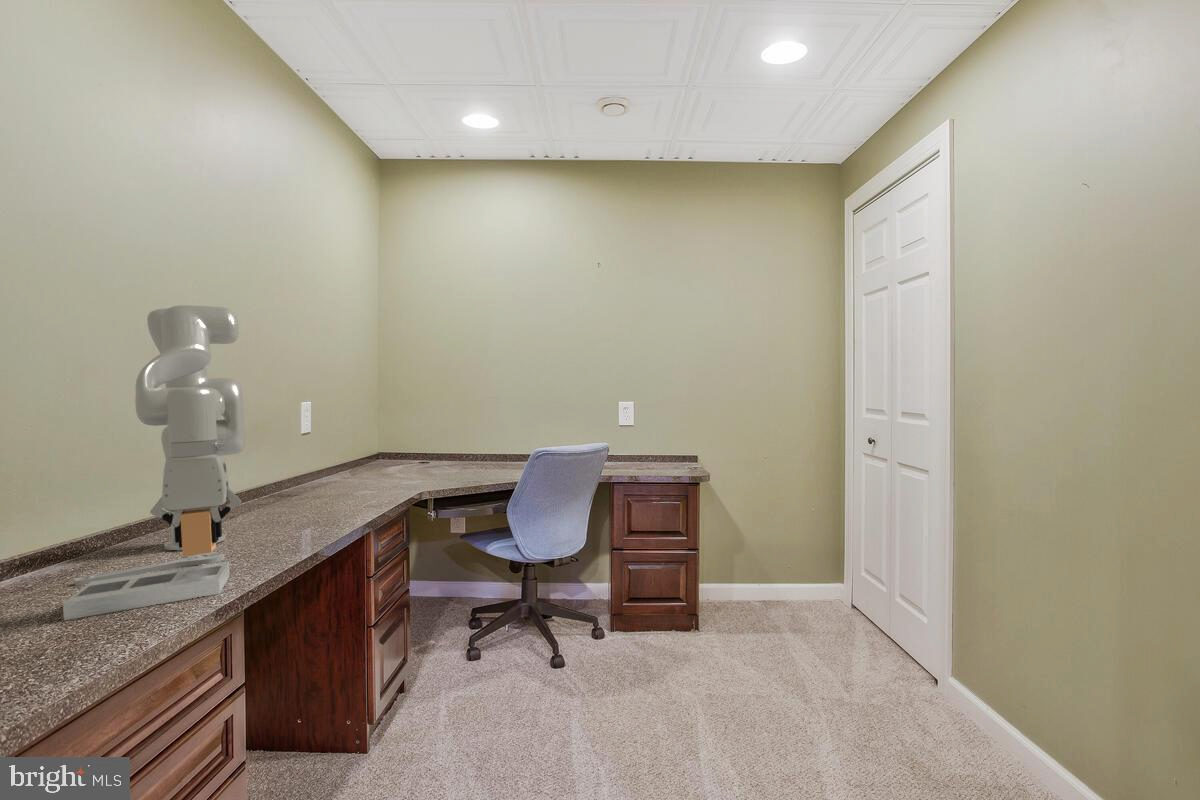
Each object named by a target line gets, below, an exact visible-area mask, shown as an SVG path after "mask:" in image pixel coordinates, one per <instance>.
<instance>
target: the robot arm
mask: <svg viewBox="0 0 1200 800" xmlns="http://www.w3.org/2000/svg"><path fill="white" fill-rule="evenodd" d="M146 322H147V327H148V331H149V334H150V337H151V339H152V341H153V343H154V344H155V347H156V348H157V350H158V352H159V354H158V355H156V356H155V357H153V358H152V359H151V360H149V361H148V362H147V363H146V364H145V366H144V367H142V369H140V371H139V373H138V375H137V378H136V380H135V399H134V400H135V401H134V402H135V413H136V416H137V418H138V420H139V421H140V422H141V423H143V424H144V425H147V426H151V427H153V426H155V427H158V426H166V427H164V428H163V430H162V431H161V434H160V435H161V436H160V437H161V439H160V440H161V445H162V450H163V453H164V458H165V463H164V467H163V477H162V496H161V497H160V498H158V499H159V500H158V501H157V502H156V503H155V504H154V505H153V507H152V508H151V509H150V511H149V513H150V514H151V515H153V516H155V517H157V518H159V519H162V520H163V521H164V522H166V523H168V524H169V525H170V530H171V531H170V534H171V539H170V540H169V541H167V542H165V543H164V544H163V548H165V549H164V550H166V551H171V550H177V551H182V534H181V517H180V515H181V514H182V513H183V512H185V511H186V510H195V509H204V508H209V509H210V512H211V514H212V517H213V519H212V523H211V535H212V543H216V544H218V542H219V543H222V542H224V541H225V540H226V534H225V533H223V530H222V529H223V528H222V520H223V519H224V518H225V517H226V515H228V513H230V512H231V511H232V510H234V509H235V508H236V507H238V506H239V505H240V504H241V503H242V500H241V499H240V498H239V496H238V495H236V494H235V493H234V492H233V491H232V490H231V489H230V484H229V476H228V471H227V464H226V460H225V458H224V456H231V455H232V456H233V455H237V454H240V453H241V452H243V450H244V449H245V446H246V424H245V422H246V421H245V411H244V410H245V409H244V399H243V398H244V397H243V390H242V387H241V386H240V385H241V384H240V383H239V382H238V381H237V380H235V379H233V378H227V377H223V378H221V377H218V378H217V377H216V378H215V377H214V378H213V377H212V378H210V377H208V375H207V366H209V364H210V362H211V359H212V355H211V354H212V353H211V348H210V347H211V346H210V344H213V345H215V344H216V345H229V344H233V343H235V342H236V341H237V339H238V337H239V334H240V325H239V319H238V318H237V315H236V314H235V312H234V311H233V310H232V309H230V308H227V307H224V306H223V307H222V306H208V305H207V306H206V305H189V304H188V305H187V304H183V305H174V306H170V307H168V308H159V309H158V308H157V309H154V310H152V311H150V312H149V313H148V315H147V321H146ZM163 384H165V387H160V386H161V385H163ZM221 417H223V418H224V419H223V418H222V419H221ZM228 501H229V503H228V504H227V505H226V506H223V508H221V506H222V505H225V504H226V502H228ZM221 541H222V542H221Z"/></svg>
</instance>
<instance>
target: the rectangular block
mask: <svg viewBox="0 0 1200 800" xmlns="http://www.w3.org/2000/svg"><path fill="white" fill-rule="evenodd" d="M180 517H181V534H182V550H181V551H182V557H191V556H194V555H198V554H205V553H212V552H214V550H215V549H216V547H217V545H216V544H217V543H212V535H211V523H212V519H213V517H212V514H211V512H210V509H209V508H204V509H195V510H186V511H185V512H183V513H182V514H181V515H180Z"/></svg>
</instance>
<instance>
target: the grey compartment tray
mask: <svg viewBox="0 0 1200 800" xmlns="http://www.w3.org/2000/svg"><path fill="white" fill-rule="evenodd" d="M230 573H231V572H230V561H229V560H227V561H220V562H217V563H212V564H206V565H198V566H187V567H179V568H173V569H168V570H162V571H157V572H151V573H146V574H139V575H132V576H126V577H119V578H112V579H106V580H99V581H92V582H90V583H88V584H86V585H85V586H84V585H83V587H82V588H80V589H79V590H78V591H76V592H75V593H74V594H73V595H72V596H70V597H69V598H67V599H66V600H65V601H64V602H63V603H62V610H63V611H62V612H63V613H62V614H63V621H64V622H65V621H70V620H76V619H81V618H86V617H93V616H99V615H104V614H111V613H117V612H121V611H127V610H134V609H140V608H146V607H151V605H152V606H156V604H158V605H163V604H168V603H174V602H180V601H181V602H182V601H187V600H192V598H193V599H198V598H197V597H199V598H203V597H202V596H205V597H209V596H216V595H219V594H221V593H222V590H223V589H224V587H225V585H226V583H227V581H228V579H229V578H228V577H230V576H231V574H230ZM229 575H230V576H229ZM222 588H223V589H222Z"/></svg>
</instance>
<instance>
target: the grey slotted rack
mask: <svg viewBox="0 0 1200 800" xmlns="http://www.w3.org/2000/svg"><path fill="white" fill-rule="evenodd" d="M223 559H224V560H226V559H225V553H221V554H219V552H218V551H212V553H205V554H198V555H191V556H187V557H185V558H180V559H176V560H172V561H165V562H159V563H154V564H148V565H144V566H138V567H137V566H136V567H132V568H125V569H121V570H115V571H108V572H104V573H98V574H91V575H87V576H81V577H78V578H76V579H74V580H73V581H74V583H73V584H74V586H75V585H80V586H84V585H83V584H86V585H87V584H88V583H90V582H92V581H99V580H106V579H112V578H119V577H125V576H130V575H136V574H141V573H145V572H151V571H156V570H162V571H164V570H163V569H168V570H171V569H170V568H173V569H178V568H177V567H179V568H184V567H183V566H187V567H192V565H198V566H199V565H202V564H209V563H214V562H217V561H220V560H223ZM224 560H223V561H224ZM220 562H221V561H220ZM217 563H218V562H217ZM151 573H152V572H151Z"/></svg>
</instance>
